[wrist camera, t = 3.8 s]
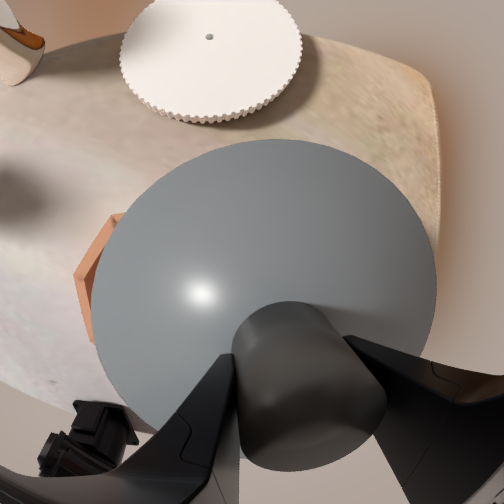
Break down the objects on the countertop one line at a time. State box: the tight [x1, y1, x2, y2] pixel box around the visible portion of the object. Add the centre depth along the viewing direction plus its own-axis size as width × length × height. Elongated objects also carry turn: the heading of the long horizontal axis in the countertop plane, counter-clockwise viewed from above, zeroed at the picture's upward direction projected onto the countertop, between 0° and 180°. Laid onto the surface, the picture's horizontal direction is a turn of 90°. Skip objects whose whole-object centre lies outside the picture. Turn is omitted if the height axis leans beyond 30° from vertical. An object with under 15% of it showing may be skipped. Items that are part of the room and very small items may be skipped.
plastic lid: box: [119, 0, 303, 123], centre depth 16 cm, size 14×14×2 cm
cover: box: [91, 139, 436, 472], centre depth 7 cm, size 14×14×5 cm
